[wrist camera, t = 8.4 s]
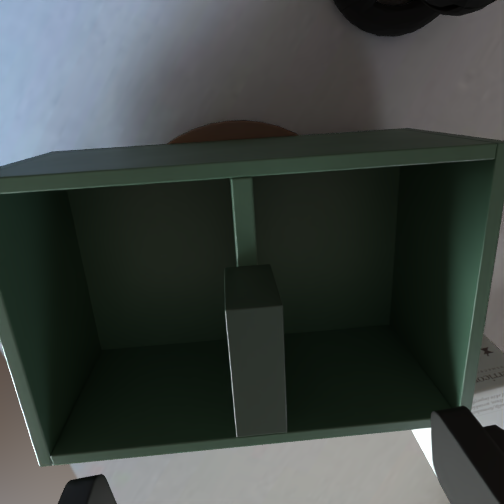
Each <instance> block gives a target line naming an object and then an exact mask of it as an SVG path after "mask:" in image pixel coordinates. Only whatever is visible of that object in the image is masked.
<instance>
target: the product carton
mask: <svg viewBox="0 0 504 504" xmlns="http://www.w3.org/2000/svg"><path fill="white" fill-rule="evenodd" d="M471 412H472V414H473V415H474V416H475V417H476V419H477V420H478V421H479V422H480V424H481V425H482V426H483V427H485V426H490V425H497V426H498V427H500V428H502V429H503V430H504V353H503V352H502V351H501V350H500V349H499V348H498V347H497V346H495V345H494V344H493V343H492V342H491V341H490V340H489V339H488V338H487V337H486V336H485V335H484V334H483V339H482V345H481V352H480V358H479V365H478V371H477V377H476V384H475V390H474V396H473V403H472V409H471ZM412 432H413V434H414V436H415V437H416V439H417V441H418V443H419V445H420V447H421V448H422V450H423V452H424V454H425V456H426V458H427V459H428V461H429V463H430V465H431V467H432V469H433V471H434V472H435V469H434V465H433V460H432V441H431V428H423V429H413V430H412ZM435 474H436V472H435ZM436 476H437V475H436Z"/></svg>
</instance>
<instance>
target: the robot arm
mask: <svg viewBox="0 0 504 504" xmlns="http://www.w3.org/2000/svg"><path fill="white" fill-rule="evenodd" d="M431 441H432V460H433V465H434V469H435V472H436V475H437V478H438V480H439V483H440V485H441V487H442V489H443V490H444V492H445V494H446V496H447V497H448V499H449V501H450V503H451V504H504V430H503V429H502V428H500V427H498V426H497V425H490V426H485V427H483V426H482V425H481V424H480V422H479V421H478V420H477V419H476V417H475V416H474V415H473V414H472V412H471V411H470V410H469V409H468V408H467V407H465V406H458V407H453V408H448V409H442V410H437V411H433V412H432V413H431ZM58 504H117V503H116V501H115V498H114V496H113V494H112V491H111V489H110V487H109V484H108V482H107V479H106V478H105V476H104V475H102V474H100V475H95V476H90V477H85V478H79V479H75V480H70V481H69V482H68V483H67V484H66V486H65V488H64V490H63V493H62V495H61V497H60V500H59V502H58Z"/></svg>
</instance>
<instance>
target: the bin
mask: <svg viewBox="0 0 504 504" xmlns="http://www.w3.org/2000/svg"><path fill="white" fill-rule="evenodd" d="M503 205H504V141H501V140H494V139H486V138H479V137H471V136H464V135H456V134H448V133H441V132H433V131H426V130H418V129H411V128H403V129H388V130H373V131H357V132H342V133H327V134H312V135H297V136H282V137H267V138H251V139H236V140H221V141H206V142H191V143H176V144H161V145H145V146H130V147H115V148H100V149H85V150H70V151H55V152H49V153H46V154H42V155H39V156H35V157H32V158H28V159H25V160H21V161H18V162H14V163H11V164H7V165H4V166H0V342H1V345H2V348H3V351H4V354H5V358H6V361H7V364H8V367H9V370H10V374H11V377H12V380H13V383H14V386H15V390H16V393H17V396H18V399H19V402H20V406H21V409H22V412H23V415H24V418H25V421H26V425H27V428H28V431H29V434H30V438H31V440H32V444H33V447H34V450H35V454H36V457H37V460H38V463H39V466H40V467H43V466H52V465H61V464H72V463H82V462H93V461H103V460H113V459H123V458H133V457H143V456H153V455H163V454H173V453H183V452H193V451H203V450H213V449H223V448H233V447H243V446H253V445H263V444H273V443H283V442H293V441H303V440H313V439H323V438H333V437H343V436H353V435H363V434H373V433H383V432H393V431H403V430H413V429H423V428H431V413H432V412H433V411H437V410H442V409H448V408H453V407H458V406H465V407H467V408H468V409H469V410H470V411H471V409H472V403H473V396H474V390H475V384H476V377H477V371H478V365H479V358H480V352H481V345H482V339H483V333H484V326H485V320H486V313H487V307H488V301H489V294H490V288H491V281H492V275H493V269H494V262H495V256H496V250H497V243H498V237H499V230H500V224H501V218H502V211H503Z"/></svg>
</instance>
